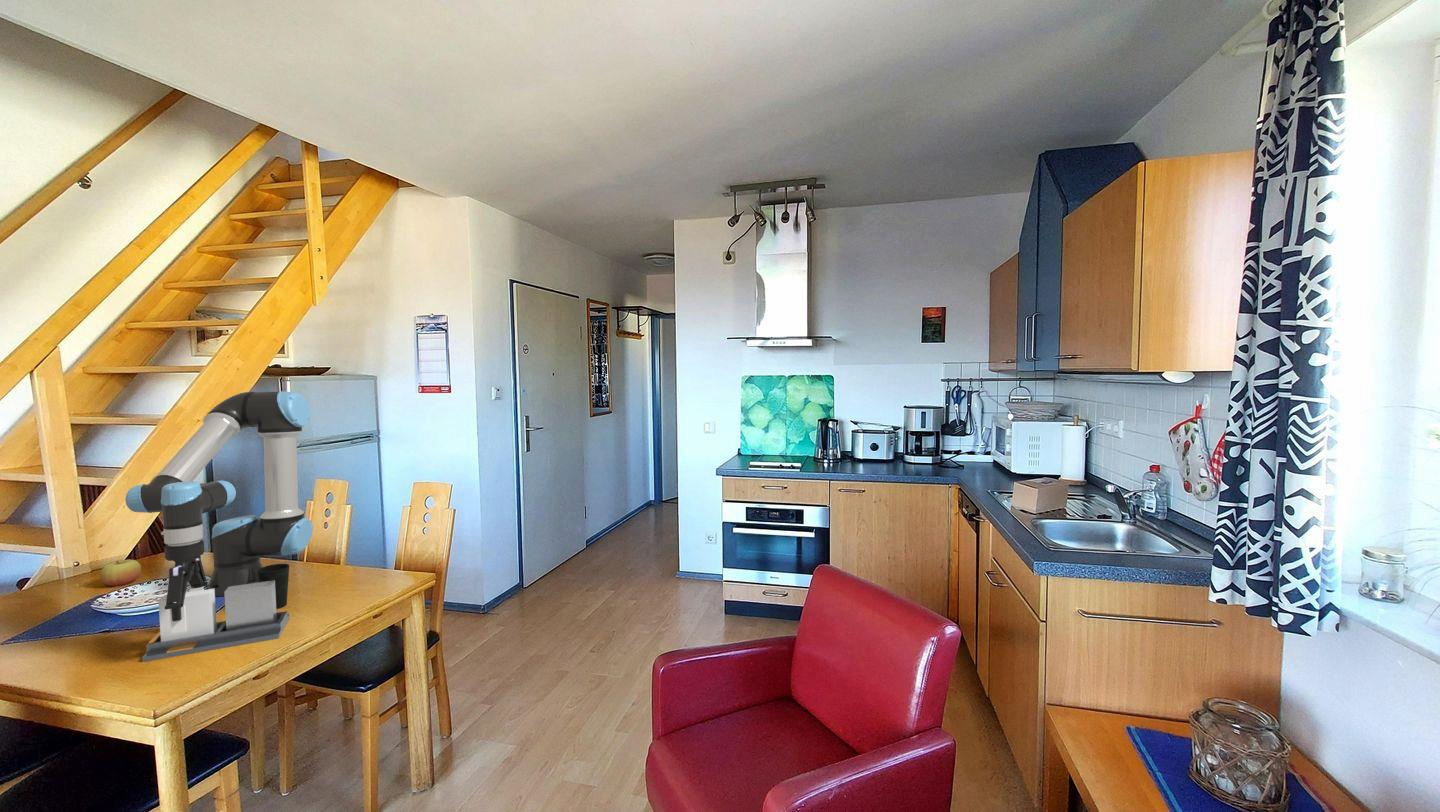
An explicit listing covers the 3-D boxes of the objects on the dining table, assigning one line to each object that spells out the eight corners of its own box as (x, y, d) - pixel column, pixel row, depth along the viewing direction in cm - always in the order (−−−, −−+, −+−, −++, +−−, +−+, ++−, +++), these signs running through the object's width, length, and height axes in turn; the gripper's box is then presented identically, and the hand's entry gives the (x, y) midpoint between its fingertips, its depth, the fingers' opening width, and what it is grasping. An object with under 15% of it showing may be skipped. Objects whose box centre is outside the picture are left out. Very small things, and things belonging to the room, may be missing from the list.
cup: (273, 612, 168) (271, 573, 168) (252, 610, 170) (250, 571, 169) (297, 602, 176) (295, 564, 175) (277, 600, 178) (275, 562, 177)
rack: (165, 638, 152) (162, 590, 152) (289, 617, 165) (287, 573, 164) (142, 661, 140) (139, 609, 139) (278, 638, 153) (276, 590, 152)
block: (167, 639, 149) (164, 595, 148) (216, 631, 154) (214, 588, 153) (161, 646, 145) (158, 600, 145) (212, 638, 150) (209, 593, 149)
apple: (97, 584, 190) (95, 561, 190) (138, 576, 198) (137, 553, 198) (103, 591, 185) (101, 567, 184) (145, 582, 193) (144, 559, 192)
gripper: (182, 531, 157) (187, 606, 158) (144, 558, 135) (149, 645, 136) (218, 528, 161) (222, 601, 162) (185, 553, 139) (190, 638, 140)
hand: (188, 621), depth 149 cm, fingers open, 13 cm apart
